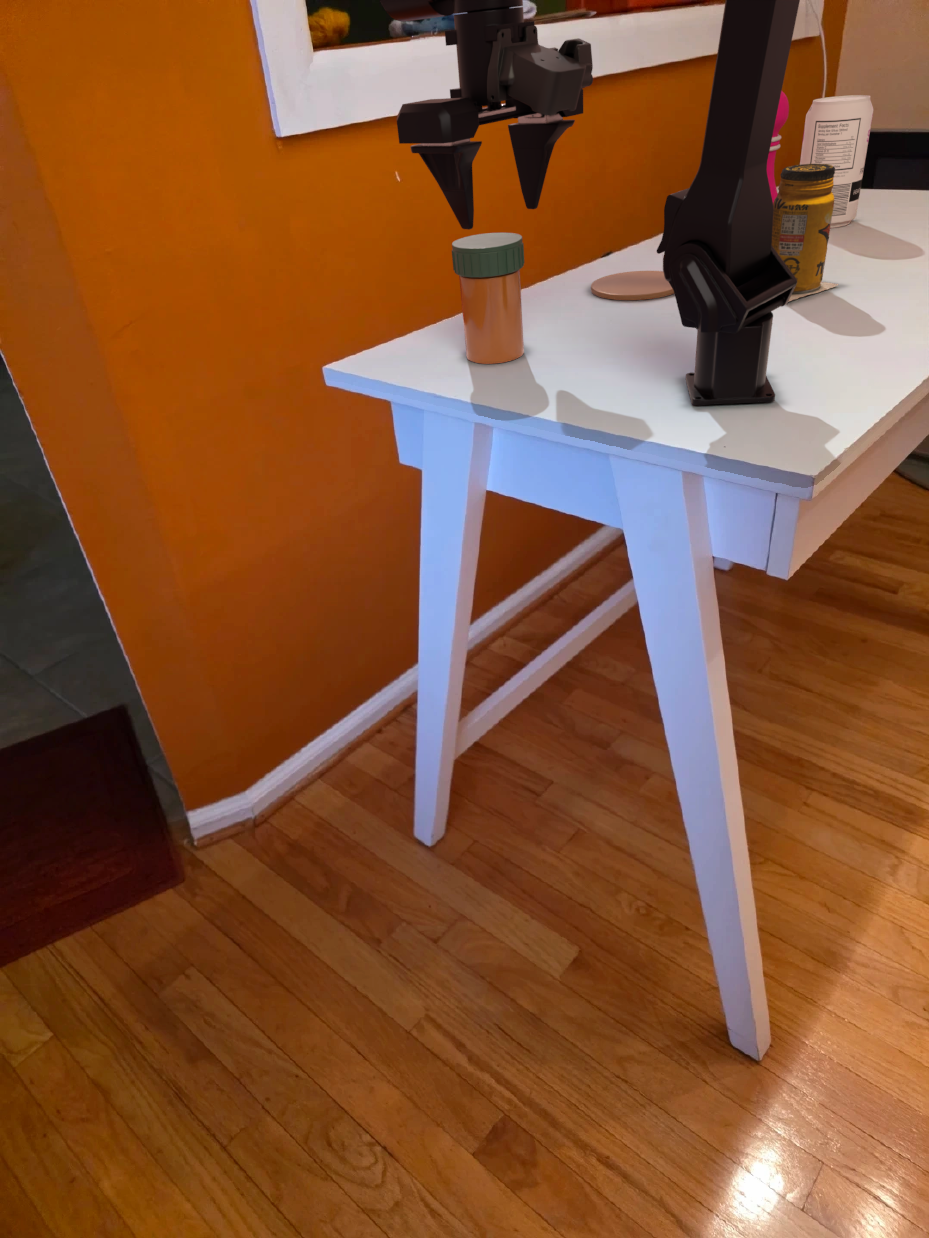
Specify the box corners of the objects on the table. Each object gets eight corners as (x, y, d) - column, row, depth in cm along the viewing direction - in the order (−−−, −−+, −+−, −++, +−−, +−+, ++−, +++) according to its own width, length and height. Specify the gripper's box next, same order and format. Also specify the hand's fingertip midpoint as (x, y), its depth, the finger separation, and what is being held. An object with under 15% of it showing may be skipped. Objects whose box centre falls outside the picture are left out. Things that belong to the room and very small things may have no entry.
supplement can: (780, 224, 118) (794, 102, 109) (824, 215, 120) (841, 94, 112) (822, 232, 112) (841, 103, 103) (868, 221, 114) (890, 95, 106)
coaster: (689, 297, 93) (689, 291, 92) (590, 303, 94) (590, 297, 94) (680, 273, 102) (681, 268, 101) (591, 279, 103) (591, 274, 103)
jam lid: (521, 275, 75) (520, 245, 73) (449, 280, 76) (446, 251, 74) (526, 257, 80) (525, 230, 79) (458, 262, 81) (456, 235, 80)
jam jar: (521, 362, 80) (515, 250, 74) (463, 365, 81) (452, 255, 75) (525, 343, 85) (520, 237, 79) (470, 347, 85) (460, 241, 80)
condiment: (838, 286, 91) (858, 163, 84) (787, 303, 87) (803, 177, 80) (784, 276, 96) (798, 160, 89) (733, 292, 92) (744, 173, 85)
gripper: (486, 8, 57) (501, 247, 66) (635, -6, 68) (630, 203, 77) (379, 22, 64) (406, 238, 73) (530, 8, 74) (537, 198, 83)
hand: (500, 218), depth 76 cm, fingers open, 9 cm apart
